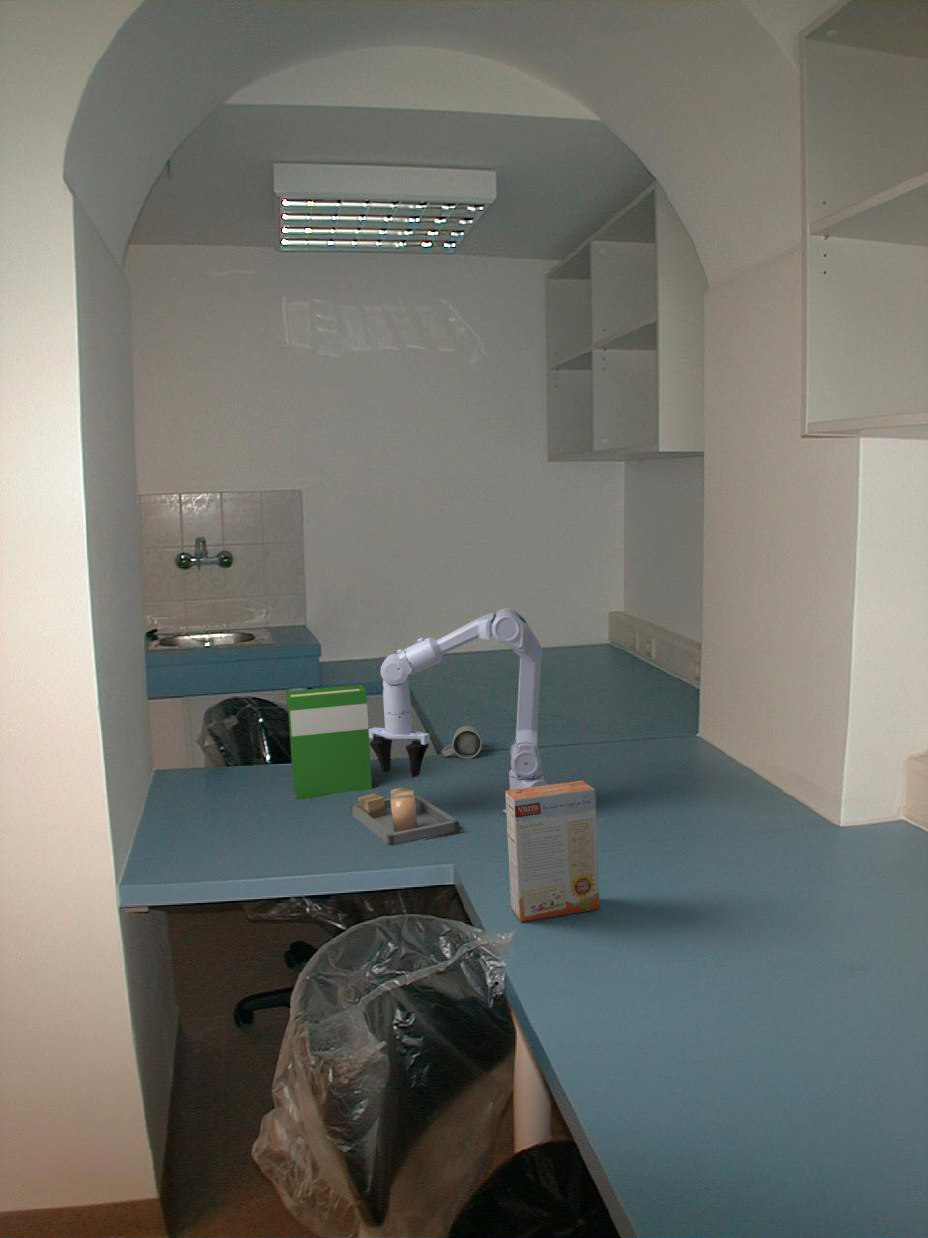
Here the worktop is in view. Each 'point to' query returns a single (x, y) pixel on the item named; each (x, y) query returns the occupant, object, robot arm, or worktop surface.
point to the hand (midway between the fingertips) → (400, 773)
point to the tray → (428, 825)
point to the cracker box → (552, 850)
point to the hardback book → (329, 741)
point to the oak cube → (372, 805)
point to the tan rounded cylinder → (403, 813)
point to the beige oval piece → (402, 792)
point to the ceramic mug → (464, 743)
